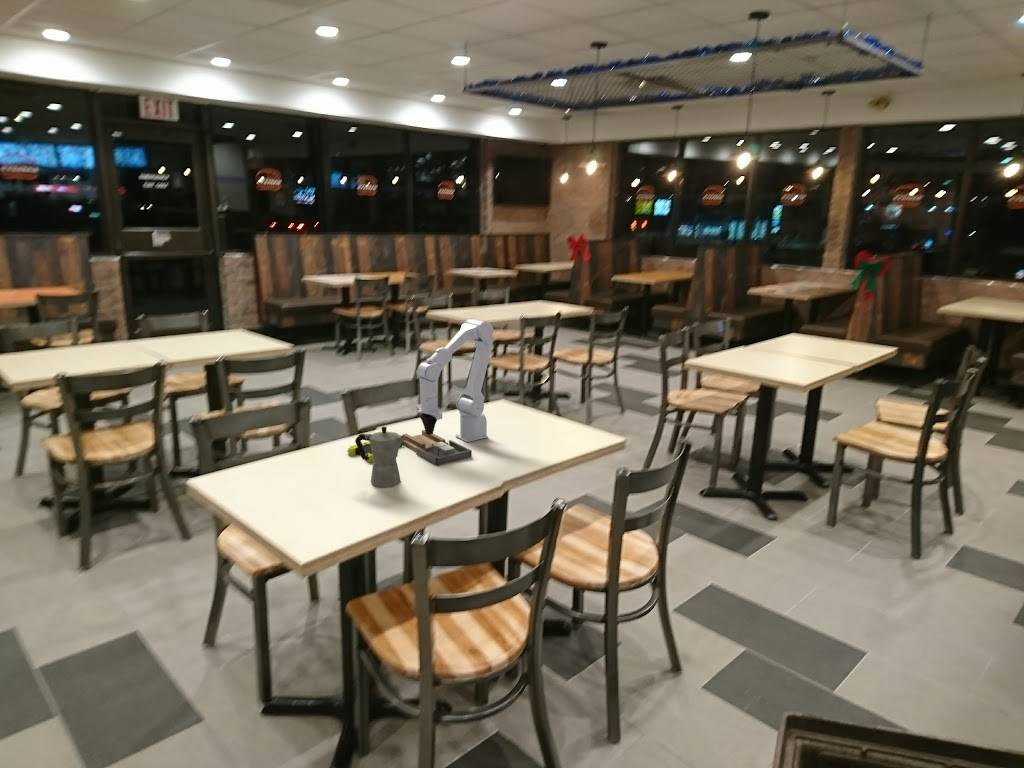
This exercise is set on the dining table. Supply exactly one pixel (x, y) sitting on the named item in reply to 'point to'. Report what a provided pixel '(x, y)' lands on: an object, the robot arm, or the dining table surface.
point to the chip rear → (437, 447)
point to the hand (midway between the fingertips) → (429, 433)
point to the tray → (459, 454)
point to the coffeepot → (383, 456)
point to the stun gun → (367, 448)
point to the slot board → (422, 441)
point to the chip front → (446, 450)
